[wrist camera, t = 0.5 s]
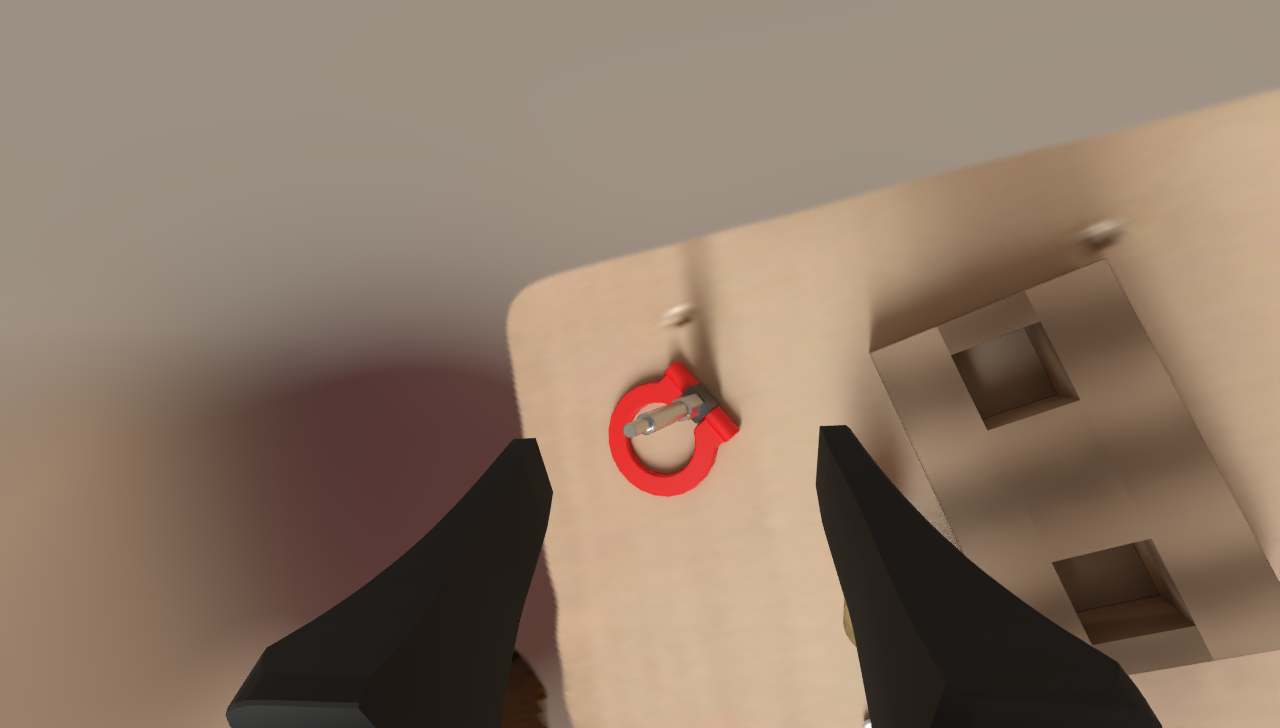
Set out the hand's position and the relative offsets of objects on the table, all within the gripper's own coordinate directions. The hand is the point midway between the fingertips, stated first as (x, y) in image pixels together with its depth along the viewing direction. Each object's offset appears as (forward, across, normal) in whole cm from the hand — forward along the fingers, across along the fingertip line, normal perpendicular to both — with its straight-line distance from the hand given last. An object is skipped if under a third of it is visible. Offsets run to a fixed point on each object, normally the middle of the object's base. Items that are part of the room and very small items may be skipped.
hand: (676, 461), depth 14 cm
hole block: (+15, -20, +16) cm, 29 cm away
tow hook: (+20, +3, +17) cm, 27 cm away
